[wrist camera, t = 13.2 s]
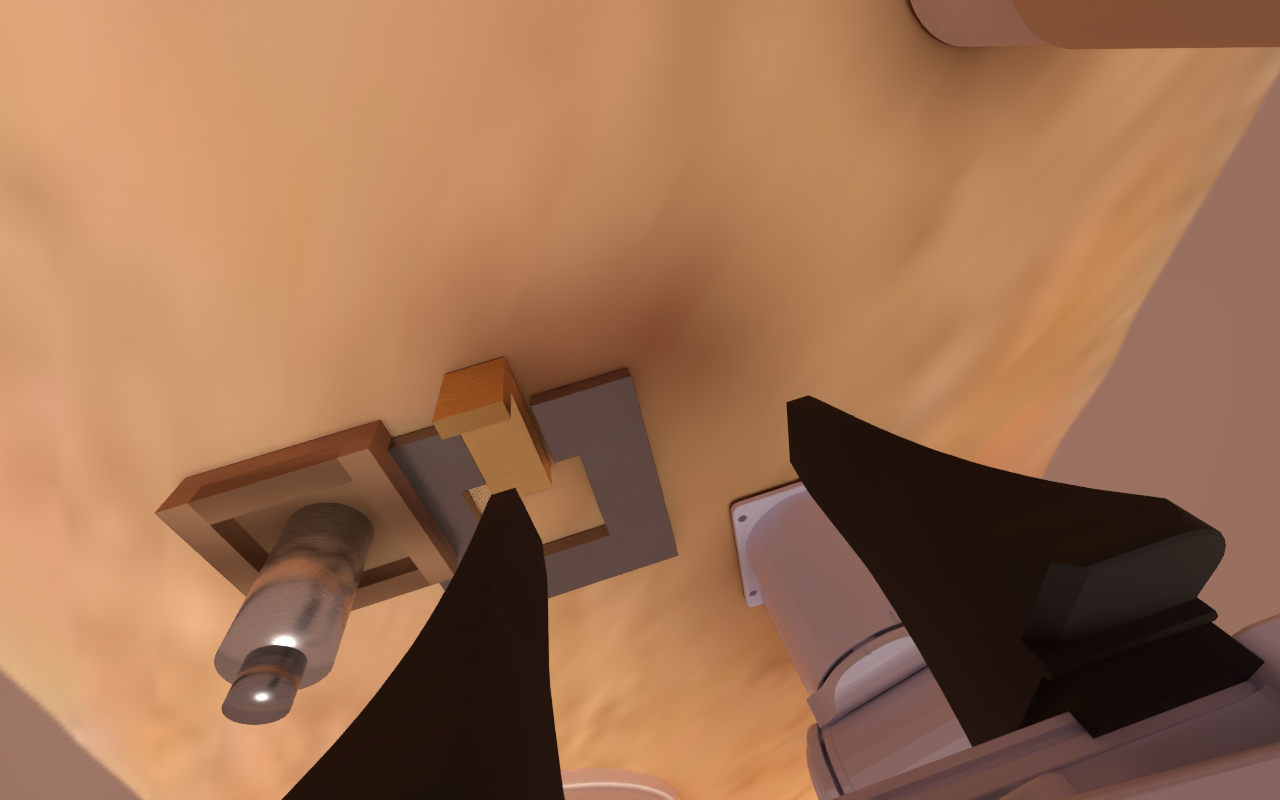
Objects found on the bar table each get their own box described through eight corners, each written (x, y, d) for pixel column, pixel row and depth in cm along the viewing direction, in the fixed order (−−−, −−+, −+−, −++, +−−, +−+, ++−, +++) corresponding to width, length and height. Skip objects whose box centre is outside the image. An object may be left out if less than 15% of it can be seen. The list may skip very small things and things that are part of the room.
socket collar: (674, 544, 28) (678, 555, 28) (470, 611, 27) (469, 624, 27) (627, 367, 22) (630, 376, 21) (357, 449, 21) (351, 460, 20)
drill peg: (388, 543, 22) (342, 712, 16) (316, 569, 22) (241, 750, 16) (345, 491, 21) (274, 660, 14) (266, 520, 20) (159, 702, 14)
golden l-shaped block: (550, 465, 23) (555, 517, 20) (498, 481, 23) (496, 536, 20) (504, 357, 20) (502, 400, 17) (444, 375, 20) (432, 422, 17)
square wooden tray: (459, 545, 25) (455, 577, 23) (301, 595, 24) (285, 632, 23) (380, 420, 20) (368, 448, 19) (184, 478, 20) (154, 513, 18)
